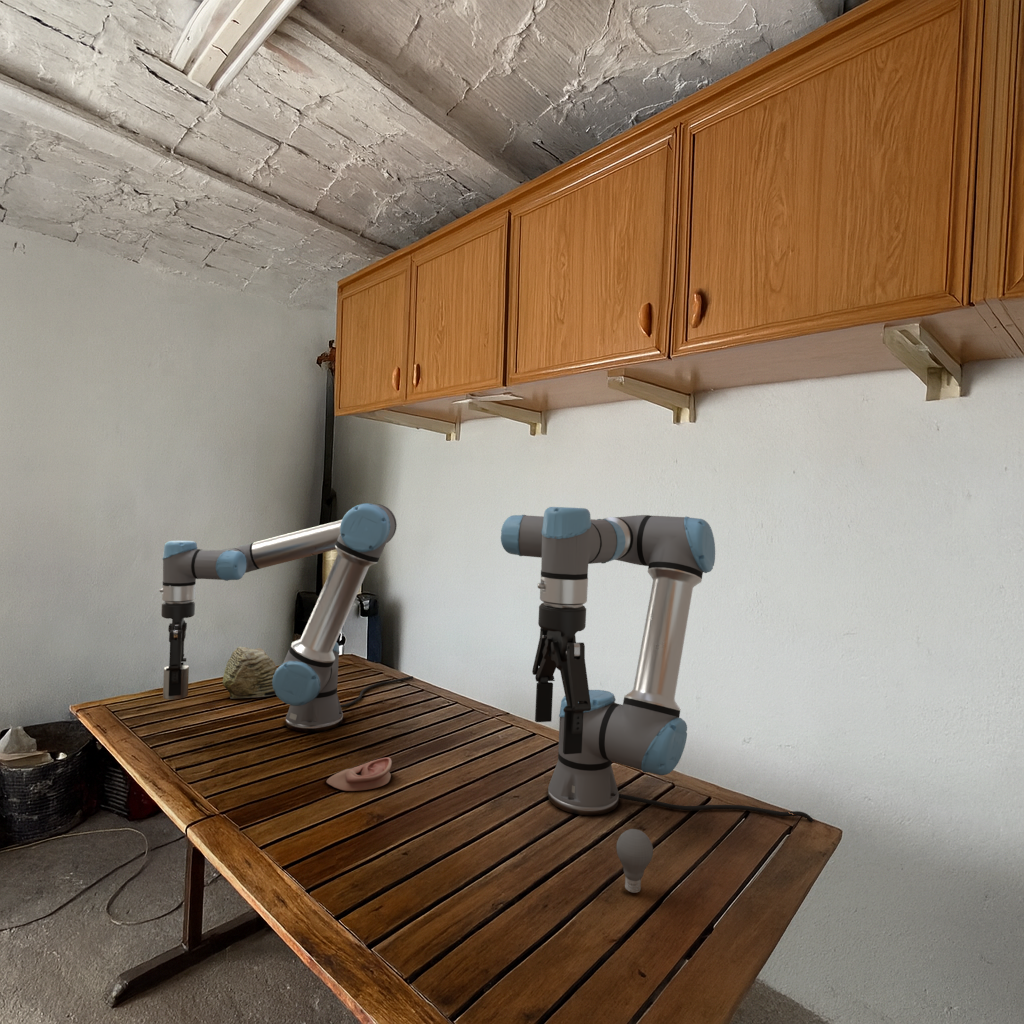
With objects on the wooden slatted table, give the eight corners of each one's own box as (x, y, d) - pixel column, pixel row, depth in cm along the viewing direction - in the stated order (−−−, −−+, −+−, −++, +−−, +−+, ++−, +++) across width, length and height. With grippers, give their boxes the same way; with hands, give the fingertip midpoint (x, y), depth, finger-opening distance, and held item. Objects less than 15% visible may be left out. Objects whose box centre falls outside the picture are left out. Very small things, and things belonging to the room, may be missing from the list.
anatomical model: (320, 769, 137) (344, 749, 149) (319, 787, 138) (343, 766, 149) (377, 777, 135) (397, 756, 146) (376, 795, 135) (397, 773, 146)
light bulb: (610, 879, 108) (613, 822, 108) (644, 879, 109) (647, 822, 109) (619, 902, 102) (622, 840, 102) (655, 901, 103) (658, 840, 103)
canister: (157, 698, 160) (158, 669, 160) (173, 691, 165) (174, 663, 165) (177, 700, 159) (178, 671, 159) (192, 694, 164) (193, 665, 164)
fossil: (218, 695, 195) (220, 647, 195) (278, 685, 208) (279, 640, 207) (228, 703, 189) (230, 653, 188) (289, 692, 201) (290, 645, 201)
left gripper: (165, 595, 169) (162, 682, 169) (157, 608, 152) (154, 704, 152) (196, 595, 172) (194, 680, 172) (192, 607, 155) (189, 701, 155)
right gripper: (518, 591, 112) (512, 711, 112) (568, 619, 88) (561, 770, 88) (558, 592, 114) (552, 709, 114) (618, 618, 90) (611, 766, 90)
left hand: (175, 691), depth 162 cm, fingers closed on canister, 6 cm apart
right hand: (556, 736), depth 101 cm, fingers open, 13 cm apart
